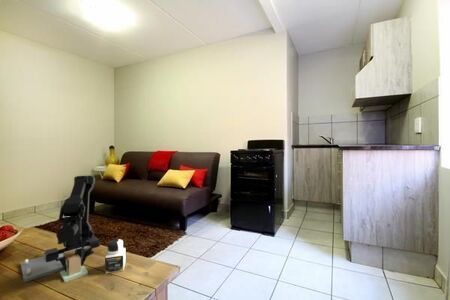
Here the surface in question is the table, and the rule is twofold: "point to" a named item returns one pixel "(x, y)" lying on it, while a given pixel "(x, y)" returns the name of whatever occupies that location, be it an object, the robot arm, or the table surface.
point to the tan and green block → (73, 268)
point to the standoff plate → (39, 268)
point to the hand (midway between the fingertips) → (73, 268)
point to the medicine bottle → (115, 256)
